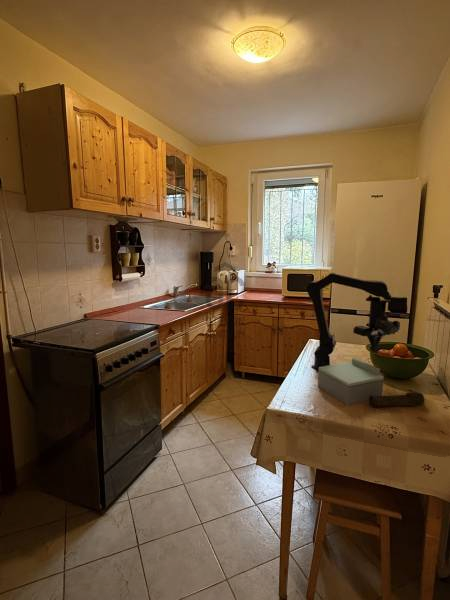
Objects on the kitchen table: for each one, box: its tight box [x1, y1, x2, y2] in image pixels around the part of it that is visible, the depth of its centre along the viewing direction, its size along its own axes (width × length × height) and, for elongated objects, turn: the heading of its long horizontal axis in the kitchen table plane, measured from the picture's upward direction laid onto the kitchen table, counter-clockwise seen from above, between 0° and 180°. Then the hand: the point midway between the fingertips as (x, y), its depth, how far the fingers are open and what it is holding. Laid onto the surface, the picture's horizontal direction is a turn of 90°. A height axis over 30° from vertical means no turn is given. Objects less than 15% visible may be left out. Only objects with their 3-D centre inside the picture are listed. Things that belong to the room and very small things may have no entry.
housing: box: [317, 370, 384, 406], centre depth 119 cm, size 16×16×6 cm
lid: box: [319, 357, 385, 386], centre depth 118 cm, size 16×16×3 cm
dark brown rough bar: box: [368, 391, 426, 409], centre depth 108 cm, size 19×4×5 cm, turn 91°
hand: (374, 349), depth 131 cm, fingers closed
